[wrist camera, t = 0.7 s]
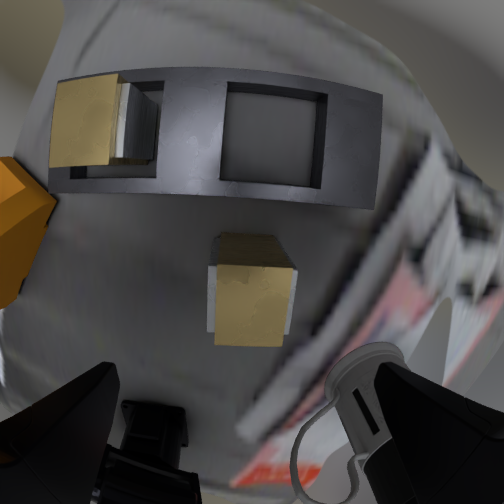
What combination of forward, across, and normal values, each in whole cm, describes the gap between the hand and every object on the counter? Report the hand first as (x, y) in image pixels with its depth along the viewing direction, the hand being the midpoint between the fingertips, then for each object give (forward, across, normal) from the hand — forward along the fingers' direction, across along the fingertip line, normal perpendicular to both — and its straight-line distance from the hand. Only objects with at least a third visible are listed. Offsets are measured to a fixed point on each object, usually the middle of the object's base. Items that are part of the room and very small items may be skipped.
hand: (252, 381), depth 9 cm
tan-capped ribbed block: (+13, +8, -9) cm, 18 cm away
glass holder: (+13, -10, +11) cm, 20 cm away
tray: (+13, +2, -9) cm, 16 cm away
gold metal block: (+13, 0, 0) cm, 13 cm away
